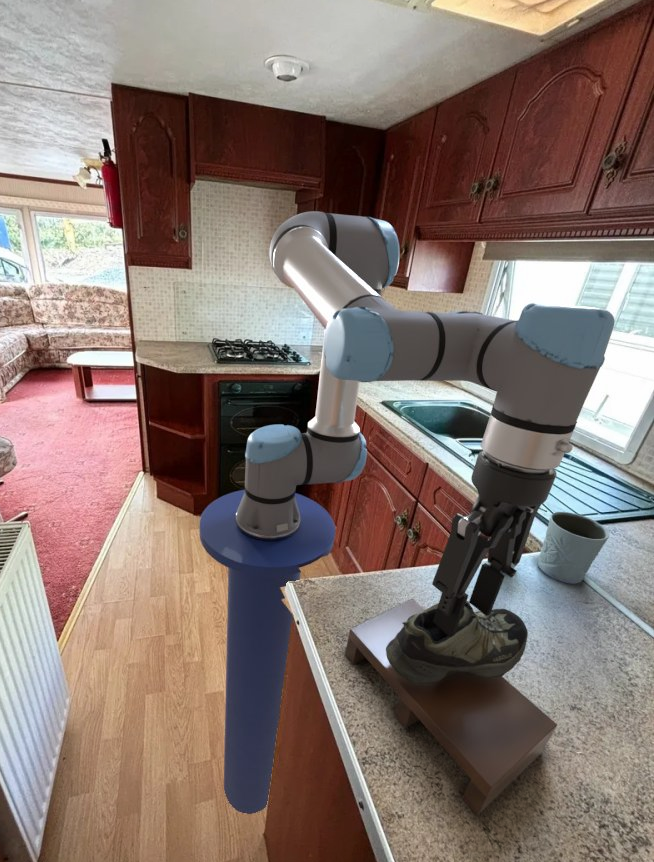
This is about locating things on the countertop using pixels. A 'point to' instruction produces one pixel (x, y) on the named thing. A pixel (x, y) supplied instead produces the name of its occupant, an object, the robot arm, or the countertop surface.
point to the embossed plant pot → (571, 546)
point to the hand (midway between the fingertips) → (462, 617)
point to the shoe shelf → (460, 712)
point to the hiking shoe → (457, 646)
